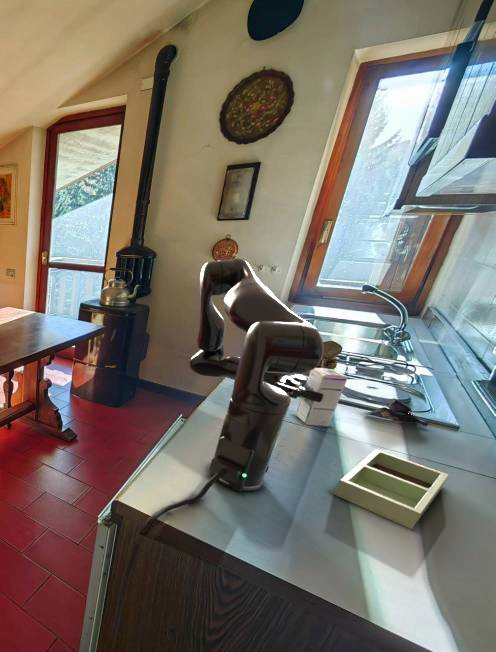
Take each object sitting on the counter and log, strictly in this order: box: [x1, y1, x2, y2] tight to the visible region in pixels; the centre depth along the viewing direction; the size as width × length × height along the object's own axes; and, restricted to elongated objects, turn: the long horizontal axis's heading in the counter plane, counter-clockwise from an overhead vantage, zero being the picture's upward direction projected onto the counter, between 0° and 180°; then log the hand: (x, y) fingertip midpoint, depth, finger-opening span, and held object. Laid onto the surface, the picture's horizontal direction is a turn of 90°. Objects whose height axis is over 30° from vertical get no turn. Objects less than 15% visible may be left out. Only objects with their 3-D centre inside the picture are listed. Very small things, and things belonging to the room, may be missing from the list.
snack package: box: [364, 397, 429, 427], centre depth 107 cm, size 12×6×12 cm
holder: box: [333, 449, 450, 530], centre depth 78 cm, size 21×11×4 cm, turn 123°
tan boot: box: [301, 340, 343, 377], centre depth 123 cm, size 9×14×18 cm, turn 140°
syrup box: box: [295, 368, 349, 428], centre depth 103 cm, size 6×6×14 cm
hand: (328, 394), depth 102 cm, fingers open, 8 cm apart
